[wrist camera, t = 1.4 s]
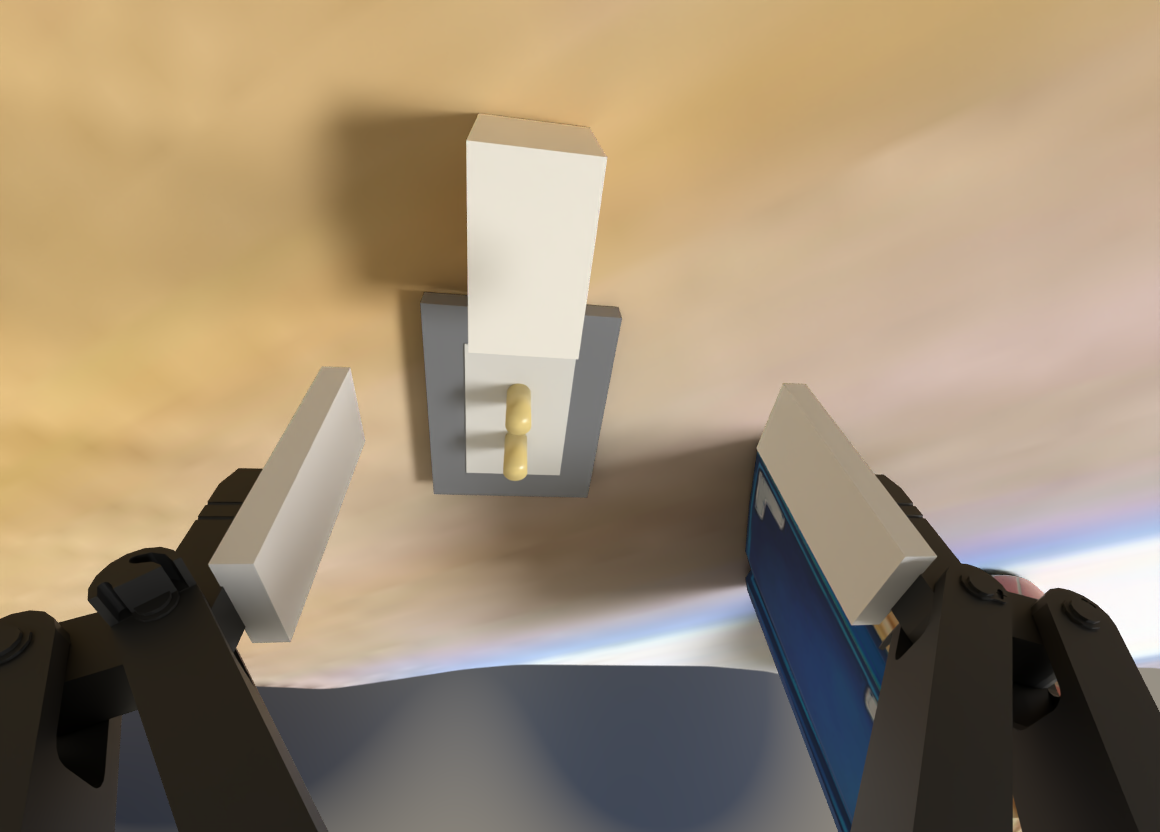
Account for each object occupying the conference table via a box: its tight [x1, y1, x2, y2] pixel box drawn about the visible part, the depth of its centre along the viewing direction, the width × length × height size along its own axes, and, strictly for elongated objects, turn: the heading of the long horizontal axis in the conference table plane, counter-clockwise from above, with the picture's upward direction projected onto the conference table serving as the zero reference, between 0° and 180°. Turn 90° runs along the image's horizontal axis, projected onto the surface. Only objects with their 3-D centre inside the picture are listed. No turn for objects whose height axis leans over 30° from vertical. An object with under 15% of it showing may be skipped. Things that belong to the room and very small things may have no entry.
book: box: [745, 451, 1022, 832], centre depth 38 cm, size 22×7×25 cm, turn 8°
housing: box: [466, 113, 607, 359], centre depth 26 cm, size 10×6×7 cm, turn 173°
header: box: [420, 292, 622, 498], centre depth 35 cm, size 16×12×5 cm
